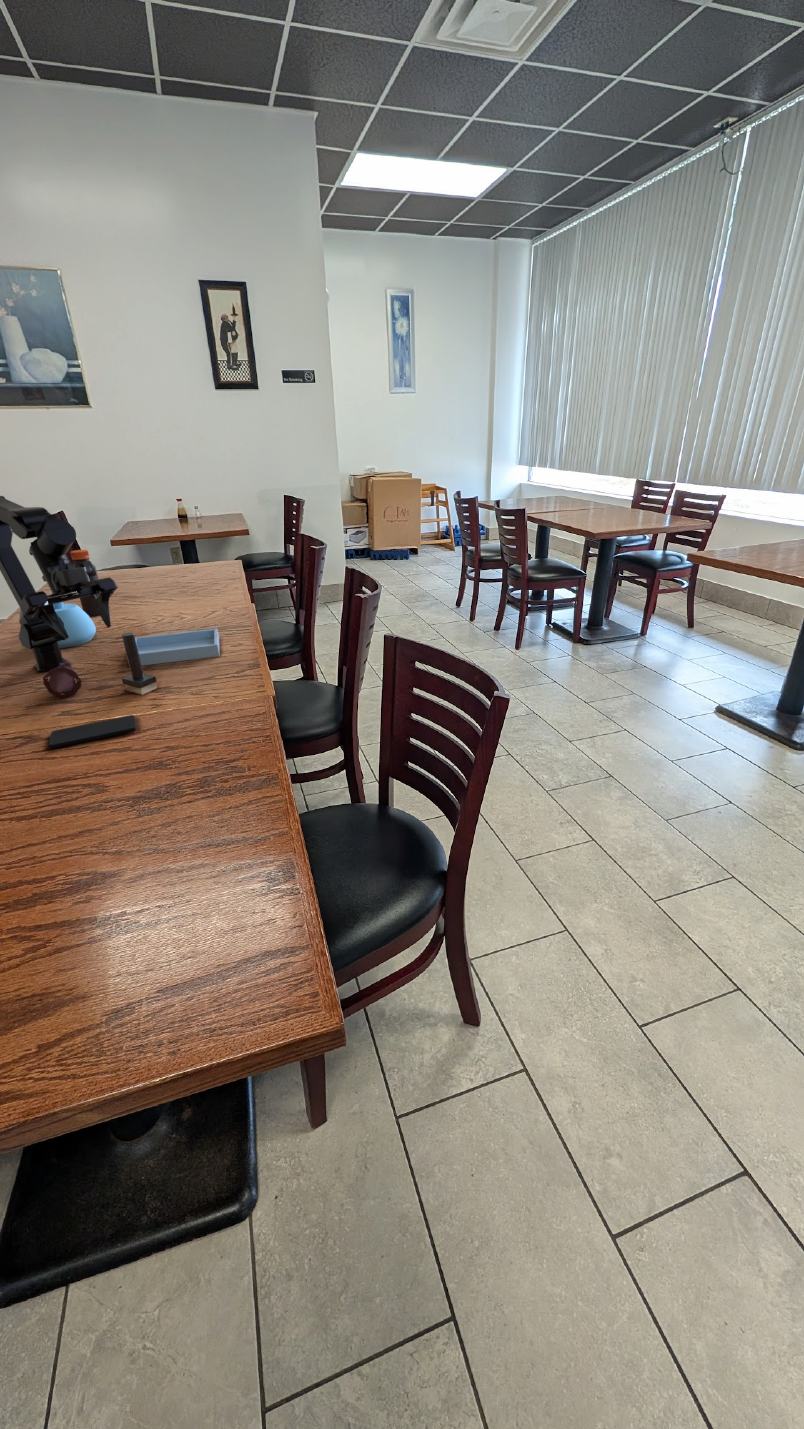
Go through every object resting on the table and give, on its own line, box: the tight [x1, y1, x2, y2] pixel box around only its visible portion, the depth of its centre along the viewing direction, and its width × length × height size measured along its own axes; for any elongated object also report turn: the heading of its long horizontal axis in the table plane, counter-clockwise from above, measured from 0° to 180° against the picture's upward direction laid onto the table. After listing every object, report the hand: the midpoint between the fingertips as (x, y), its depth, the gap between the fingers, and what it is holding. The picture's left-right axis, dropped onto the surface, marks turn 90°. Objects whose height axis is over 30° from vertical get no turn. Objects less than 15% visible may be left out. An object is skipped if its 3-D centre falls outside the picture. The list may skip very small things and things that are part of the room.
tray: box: [126, 628, 220, 668], centre depth 153 cm, size 22×15×3 cm
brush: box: [121, 632, 158, 696], centre depth 129 cm, size 6×4×13 cm
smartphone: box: [48, 714, 137, 749], centre depth 112 cm, size 7×1×15 cm
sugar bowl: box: [53, 602, 97, 649], centre depth 163 cm, size 15×15×12 cm
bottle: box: [70, 549, 100, 617], centre depth 187 cm, size 7×7×20 cm
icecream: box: [42, 661, 82, 698], centre depth 129 cm, size 7×7×15 cm
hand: (88, 632), depth 127 cm, fingers open, 9 cm apart
